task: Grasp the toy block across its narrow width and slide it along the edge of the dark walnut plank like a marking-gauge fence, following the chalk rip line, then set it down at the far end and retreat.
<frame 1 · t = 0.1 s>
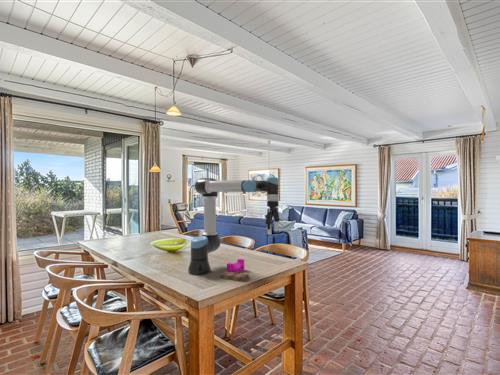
hand: (272, 232, 182), 28 cm above the table, fingers open, 13 cm apart
toy block: (234, 272, 189), on the table
walnut plank: (234, 278, 176), on the table
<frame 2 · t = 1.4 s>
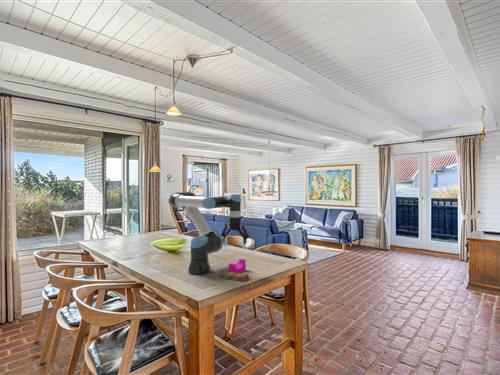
hand: (234, 247, 189), 17 cm above the table, fingers open, 13 cm apart
toy block: (235, 272, 189), on the table
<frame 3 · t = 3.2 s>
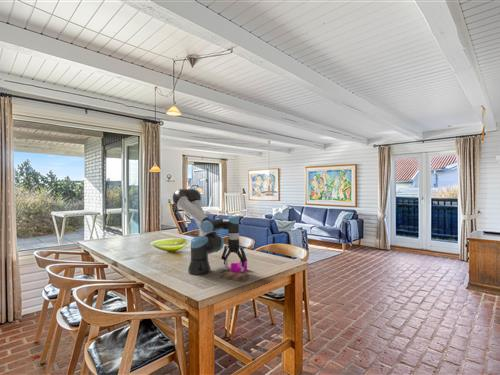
hand: (234, 270, 189), 1 cm above the table, fingers open, 11 cm apart
toy block: (237, 272, 189), on the table, touching gripper
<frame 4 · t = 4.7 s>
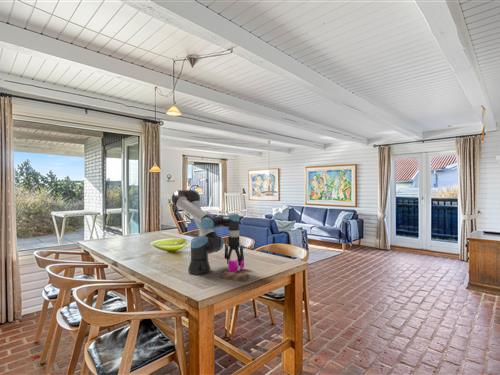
hand: (234, 269, 189), 1 cm above the table, fingers closed on toy block, 6 cm apart
toy block: (235, 269, 191), point 1 cm above the table, touching gripper
when the fingers open (0 cm above the table, at t = 7.4 s): toy block stays where it is, on the table.
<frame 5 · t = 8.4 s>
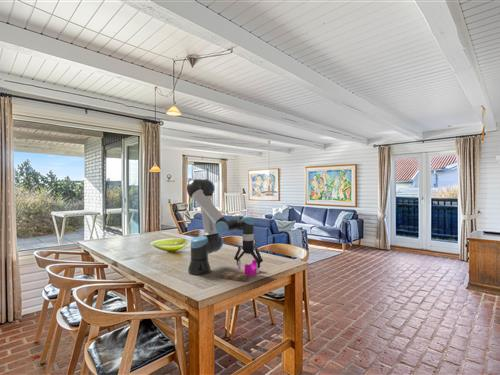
hand: (248, 271, 185), 2 cm above the table, fingers open, 13 cm apart
toy block: (250, 273, 186), on the table
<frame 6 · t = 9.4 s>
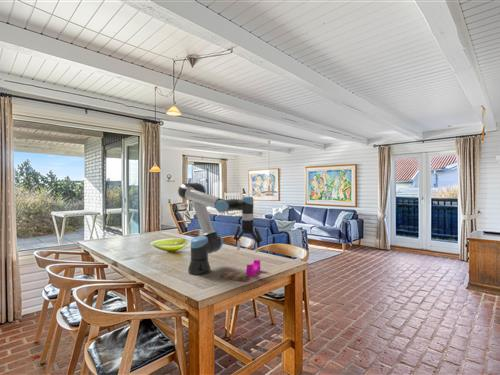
hand: (247, 251, 185), 15 cm above the table, fingers open, 13 cm apart
toy block: (252, 273, 186), on the table
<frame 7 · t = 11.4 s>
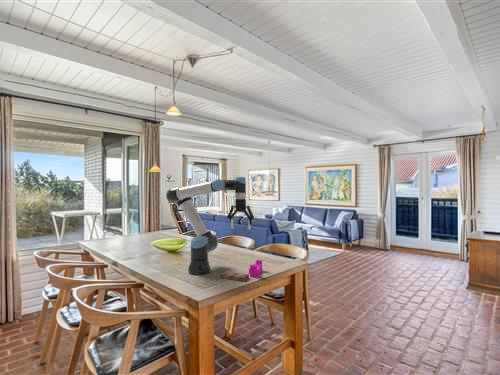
hand: (240, 228, 195), 29 cm above the table, fingers open, 13 cm apart
toy block: (254, 273, 186), on the table
at the end: toy block inside the target area (4.6 cm from its centre), on the table; toy block moved 14.8 cm from its start; the gripper is holding nothing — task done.
